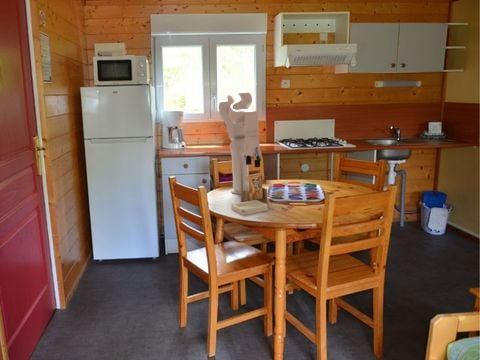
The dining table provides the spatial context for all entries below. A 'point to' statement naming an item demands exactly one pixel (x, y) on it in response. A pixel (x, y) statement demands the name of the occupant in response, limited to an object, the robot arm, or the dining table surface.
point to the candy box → (254, 186)
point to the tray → (249, 207)
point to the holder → (245, 198)
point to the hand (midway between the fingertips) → (253, 165)
